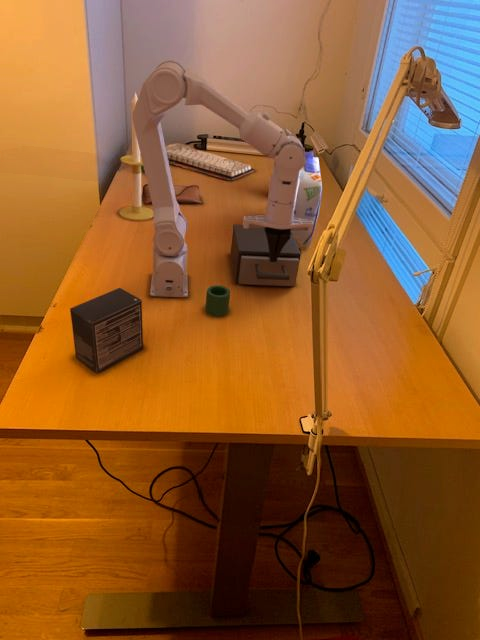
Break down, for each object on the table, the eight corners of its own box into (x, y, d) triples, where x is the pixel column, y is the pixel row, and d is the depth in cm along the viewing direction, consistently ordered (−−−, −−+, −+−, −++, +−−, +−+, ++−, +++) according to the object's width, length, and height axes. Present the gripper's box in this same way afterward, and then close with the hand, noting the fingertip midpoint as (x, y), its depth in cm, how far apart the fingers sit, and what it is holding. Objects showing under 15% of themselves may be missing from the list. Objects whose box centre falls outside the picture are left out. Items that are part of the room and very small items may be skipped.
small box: (121, 333, 93) (119, 285, 87) (145, 348, 90) (144, 299, 84) (73, 357, 86) (67, 306, 80) (97, 374, 82) (92, 323, 77)
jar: (229, 317, 101) (231, 297, 98) (205, 316, 100) (207, 296, 98) (227, 305, 105) (229, 285, 102) (204, 304, 104) (206, 284, 102)
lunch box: (274, 214, 151) (285, 141, 139) (307, 218, 151) (321, 145, 139) (273, 253, 128) (287, 169, 116) (313, 258, 128) (330, 175, 116)
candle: (161, 213, 143) (163, 92, 125) (139, 223, 135) (137, 96, 118) (135, 204, 147) (133, 85, 129) (111, 213, 139) (106, 89, 121)
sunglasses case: (144, 203, 147) (143, 180, 146) (142, 207, 153) (141, 185, 153) (204, 203, 152) (203, 181, 151) (199, 207, 158) (198, 186, 158)
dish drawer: (299, 298, 108) (304, 272, 105) (241, 296, 107) (244, 269, 103) (284, 259, 124) (288, 235, 120) (233, 256, 122) (236, 232, 119)
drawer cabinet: (294, 286, 115) (301, 253, 110) (235, 283, 113) (238, 250, 108) (284, 257, 127) (289, 227, 122) (230, 255, 125) (233, 224, 120)
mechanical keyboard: (255, 170, 187) (256, 161, 185) (230, 182, 173) (231, 173, 171) (174, 149, 201) (174, 140, 199) (145, 158, 186) (144, 149, 184)
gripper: (312, 194, 103) (301, 252, 111) (244, 190, 101) (237, 249, 109) (320, 207, 97) (308, 267, 105) (248, 202, 95) (241, 264, 103)
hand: (272, 259), depth 107 cm, fingers closed
